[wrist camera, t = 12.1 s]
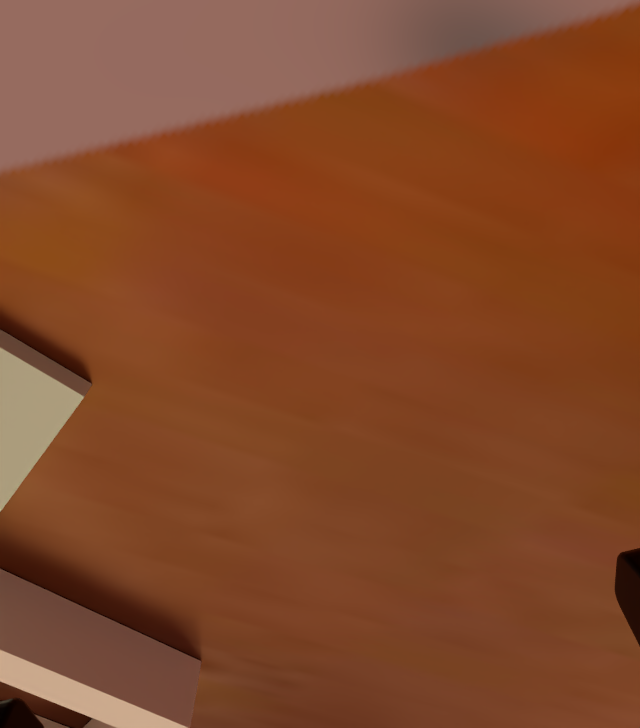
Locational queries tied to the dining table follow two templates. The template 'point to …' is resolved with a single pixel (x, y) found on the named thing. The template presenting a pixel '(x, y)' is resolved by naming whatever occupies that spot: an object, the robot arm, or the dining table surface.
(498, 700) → the dining table surface
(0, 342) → the pad
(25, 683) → the pocket block
